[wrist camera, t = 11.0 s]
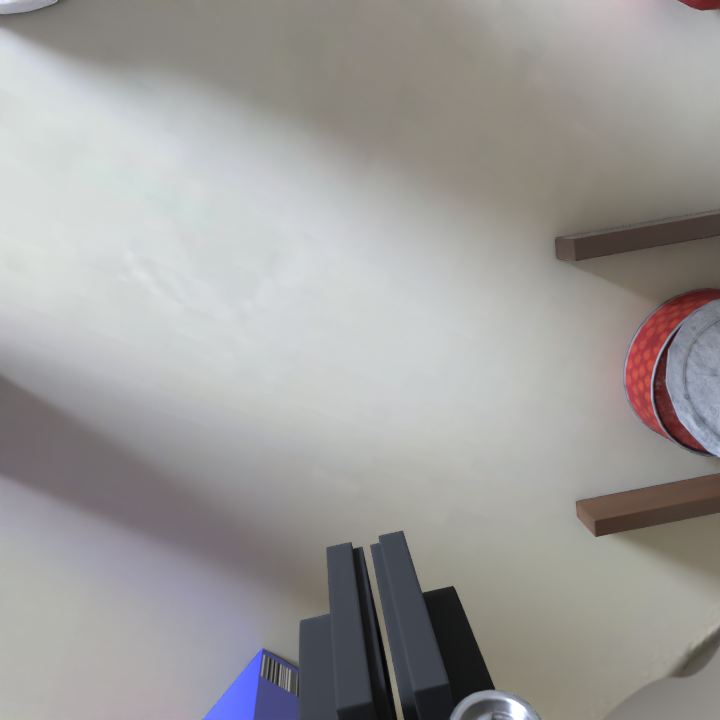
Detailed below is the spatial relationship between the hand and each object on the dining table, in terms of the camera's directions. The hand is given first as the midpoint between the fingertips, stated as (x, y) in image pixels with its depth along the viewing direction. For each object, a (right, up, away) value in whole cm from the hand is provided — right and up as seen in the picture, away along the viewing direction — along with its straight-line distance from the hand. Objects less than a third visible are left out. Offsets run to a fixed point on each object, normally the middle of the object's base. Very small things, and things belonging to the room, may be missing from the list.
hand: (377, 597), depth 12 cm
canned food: (+21, +5, +23) cm, 32 cm away
